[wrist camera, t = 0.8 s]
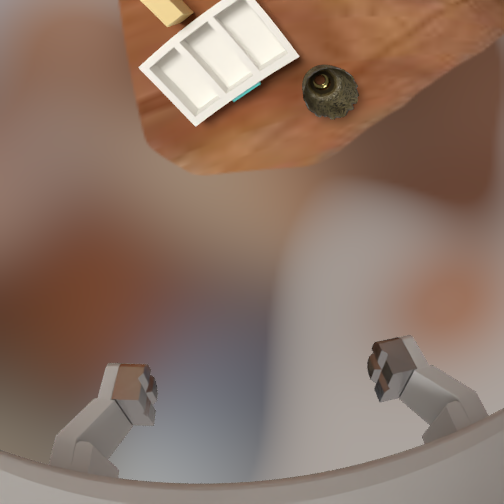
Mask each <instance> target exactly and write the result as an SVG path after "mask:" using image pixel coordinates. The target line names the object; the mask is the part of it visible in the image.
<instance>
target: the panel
mask: <svg viewBox="0 0 504 504" xmlns="http://www.w3.org/2000/svg"><path fill="white" fill-rule="evenodd" d="M140 1H141V2H142V3H144V4H145V5H146V6H147V7H148V8H149V9H150V10H151V11H152V12H153V13H154V14H155V15H156V16H157V17H158V18H159V19H160V20H161V21H162V22H163V23H164V24H165V25H166V26H167V27H169V26H172V25H176V24H179V23H181V22H182V21H184V20H185V19H186V18H188V17H189V16H190V15H191V14H193V13H194V12H193V11H192V10H191V9H190V8H189V7H188V6H187V5H186V4H185V3H184V2H183V1H182V0H140Z"/></svg>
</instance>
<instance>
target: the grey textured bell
mask: <svg viewBox="0 0 504 504" xmlns="http://www.w3.org/2000/svg"><path fill="white" fill-rule="evenodd" d="M318 75H322V76H324V78H325V82H324V83H323V84H322V85H318V84H316V83H315V77H316V76H318ZM357 87H358V85H357V84H356V83H355V81H354V78H353V76H352V75H350V74H349V73H348V72H346V71H345V70H343V69H340V68H337V67H334V66H331V65H318V66H315V67H313V68H312V69H310V70H309V71H308V72H307V73H306V75H305V76H304V79H303V83H302V90H303V99H304V101H305V103H306V105H307V107H308V109H309V110H310V111H311V112H313V113H315V115H316V116H318V117H321V116H324V117H329V118H330V119H335V118H336V117H338V118H341V117H345V116H346V115H347V113H348V111H349V110H353V109H354V108H353V105H352V104H356V103H357V101H358V98H357V97H358V96H359V94H358V92H357V89H356V88H357Z"/></svg>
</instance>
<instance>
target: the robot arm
mask: <svg viewBox="0 0 504 504" xmlns="http://www.w3.org/2000/svg"><path fill="white" fill-rule="evenodd" d="M372 351H373V353H372V354H371V355H370V356H369V359H368V362H367V364H368V365H367V368H368V374H369V377H370V379H371V380H372V381H373V382H375V383H376V386H375V392H376V394H377V397H378V399H379V402H384V401H388V400H392V399H396V398H399V399H400V400H401V401H402V402H403V403H405V404H406V405H407V406H408V407H409V408H410V409H411V410H413V411H414V412H415V413H416V414H417V415H418V416H420V417H421V418H422V419H423V420H424V421H426V422H427V423H428V424H429V425H430V427H429V428H428V429H427V430H426V431H425V433H424V434H423V436H422V438H423V441H424V443H425V444H424V445H421V446H418V447H415V448H412V449H409V450H406V451H403V452H400V453H397V454H394V455H390V456H387V457H384V458H380V459H377V460H373V461H369V462H366V463H362V464H358V465H354V466H350V467H345V468H341V469H336V470H332V471H326V472H321V473H315V474H310V475H304V476H298V477H290V478H283V479H274V480H265V481H254V482H240V483H216V484H215V483H214V484H188V483H163V482H149V481H148V482H147V481H138V480H129V479H121V478H118V475H119V470H118V469H117V467H116V466H114V465H113V464H112V463H111V462H110V461H109V460H108V459H109V458H110V456H111V455H112V454H113V452H114V451H115V450H116V448H117V447H118V446H119V444H120V443H121V442H122V440H123V439H124V438H125V436H126V435H127V434H128V432H129V431H130V430H131V428H132V427H133V426H132V425H136V426H154V421H155V412H156V410H155V409H154V407H153V404H154V403H155V402H156V401H157V395H158V393H157V384H156V381H155V378H154V377H153V376H152V375H150V373H151V369H150V367H149V365H148V364H125V363H109V364H108V365H107V366H106V369H105V373H104V377H103V381H102V384H101V388H100V391H99V396H98V399H93V400H92V401H91V402H90V403H89V404H88V405H87V406H86V407H85V408H84V409H83V410H82V411H81V412H80V413H79V414H78V415H77V416H76V417H75V418H74V419H73V420H72V421H71V422H70V423H68V424H67V426H66V427H64V428H63V429H62V430H61V431H60V432H59V433H58V434H57V435H56V438H55V442H54V446H53V449H52V453H51V458H50V462H49V465H48V464H44V463H41V462H37V461H33V460H30V459H27V458H23V457H20V456H17V455H14V454H11V453H8V452H5V451H2V450H0V504H504V408H503V409H501V410H499V411H497V412H495V413H493V414H491V415H490V416H488V414H487V412H486V410H485V408H484V406H483V404H482V402H481V400H480V399H479V397H478V395H477V393H476V392H475V391H474V390H472V389H471V388H469V387H467V386H466V385H464V384H463V383H461V382H459V381H458V380H456V379H454V378H453V377H451V376H450V375H448V374H446V373H445V372H443V371H442V370H440V369H438V368H437V367H435V366H433V365H429V364H428V362H427V361H426V359H425V357H424V355H423V354H422V352H421V350H420V348H419V347H418V345H417V343H416V341H415V340H414V338H413V337H412V336H411V335H407V336H403V337H397V338H392V339H387V340H383V341H378V342H375V343H374V344H373V346H372Z"/></svg>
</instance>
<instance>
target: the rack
mask: <svg viewBox="0 0 504 504" xmlns="http://www.w3.org/2000/svg"><path fill="white" fill-rule="evenodd" d="M298 57H299V55H298V54H297V52H296V51H295V50H294V48H293V47H292V46H291V44H290V43H289V42H288V40H287V39H286V38H285V36H284V35H283V34H282V32H281V31H280V30H279V29H278V27H277V26H276V25H275V24H274V22H273V21H272V20H271V19H270V17H269V16H268V15H267V14H266V13H265V11H264V10H263V9H262V8H261V7H260V5H259V4H258V3H257V2H256V1H255V0H222V1H220V2H219V3H217V4H216V5H214V6H213V7H211V8H210V9H209V10H207V11H206V12H205V13H203V14H202V15H200V16H199V17H198V18H196V19H195V20H194V21H192V22H191V23H190V24H189V25H187V26H186V27H185V28H184V29H182V30H181V31H180V32H179V33H177V34H176V35H175V36H174V37H172V38H171V39H170V40H169V41H168V42H166V43H165V44H164V45H163V46H162V47H161V48H159V49H158V50H157V51H156V52H155V53H154V54H153V55H152V56H150V57H149V58H148V59H147V60H146V61H145V62H144V63H143V64H142V65H141V66H140V67H139V69H140V70H141V71H142V72H143V73H144V74H145V75H146V76H147V77H148V78H149V79H150V80H151V81H152V82H153V83H154V84H155V85H156V86H157V87H158V88H159V89H160V90H161V91H162V92H163V93H164V94H165V95H166V96H167V97H168V98H169V99H170V100H171V102H172V103H173V104H174V105H175V106H176V107H177V108H178V109H179V110H180V111H181V112H182V113H183V114H184V115H185V116H186V117H187V118H188V119H189V120H190V121H191V122H192V124H193V125H194V126H195V127H196V126H197V125H198V124H200V123H201V122H202V121H204V120H205V119H206V118H208V117H209V116H210V115H212V114H213V113H215V112H216V111H217V110H219V109H220V108H221V107H223V106H224V105H226V104H227V103H228V102H230V101H231V100H232V101H233V102H235V101H236V100H238V99H239V98H241V97H242V96H244V95H245V94H247V93H248V92H250V91H251V90H253V89H254V88H256V87H257V86H259V85H260V84H261V80H263V79H264V78H266V77H267V76H269V75H270V74H272V73H274V72H275V71H277V70H278V69H280V68H282V67H283V66H285V65H286V64H288V63H290V62H291V61H293V60H295V59H297V58H298Z"/></svg>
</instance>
